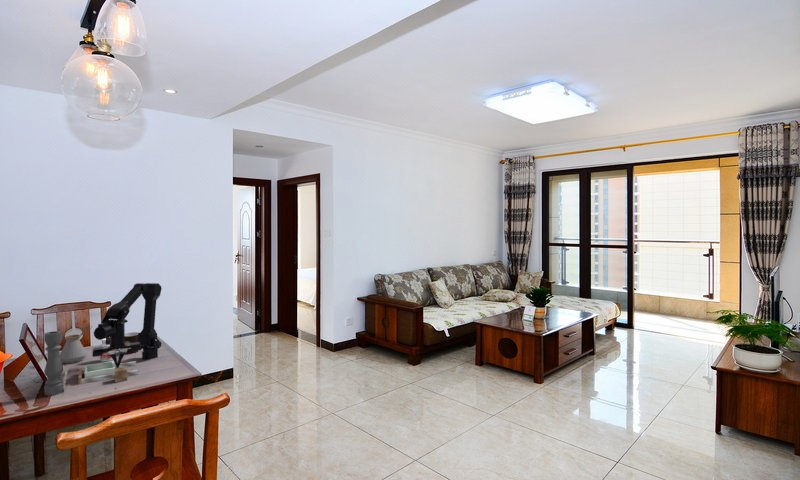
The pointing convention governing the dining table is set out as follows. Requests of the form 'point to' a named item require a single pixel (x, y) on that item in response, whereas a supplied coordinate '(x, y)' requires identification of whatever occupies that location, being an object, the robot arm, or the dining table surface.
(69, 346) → the coffee pot
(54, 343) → the candle holder
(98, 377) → the bay board
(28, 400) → the dining table surface
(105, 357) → the pill bottle
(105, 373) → the crate
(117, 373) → the walnut block
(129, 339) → the coffee mug
